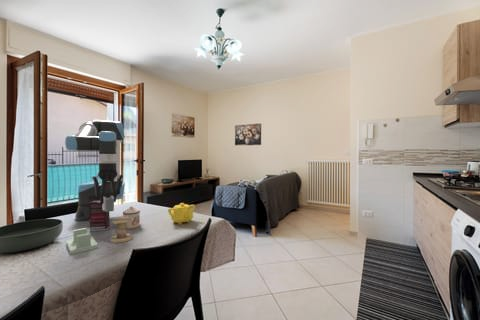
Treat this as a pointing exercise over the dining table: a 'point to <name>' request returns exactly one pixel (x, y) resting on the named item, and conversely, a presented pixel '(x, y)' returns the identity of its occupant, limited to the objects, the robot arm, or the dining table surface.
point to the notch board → (75, 250)
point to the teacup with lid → (132, 217)
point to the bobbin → (121, 230)
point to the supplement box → (98, 217)
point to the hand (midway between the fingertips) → (108, 209)
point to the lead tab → (109, 204)
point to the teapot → (181, 213)
